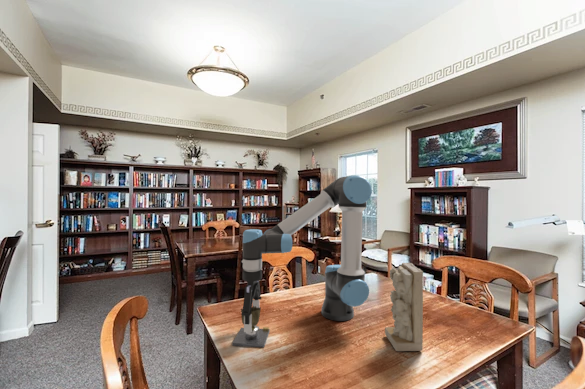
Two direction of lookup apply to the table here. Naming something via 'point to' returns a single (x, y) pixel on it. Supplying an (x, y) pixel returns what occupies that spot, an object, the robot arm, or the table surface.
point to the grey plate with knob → (252, 337)
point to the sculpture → (406, 308)
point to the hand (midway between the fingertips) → (252, 323)
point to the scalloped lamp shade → (253, 316)
